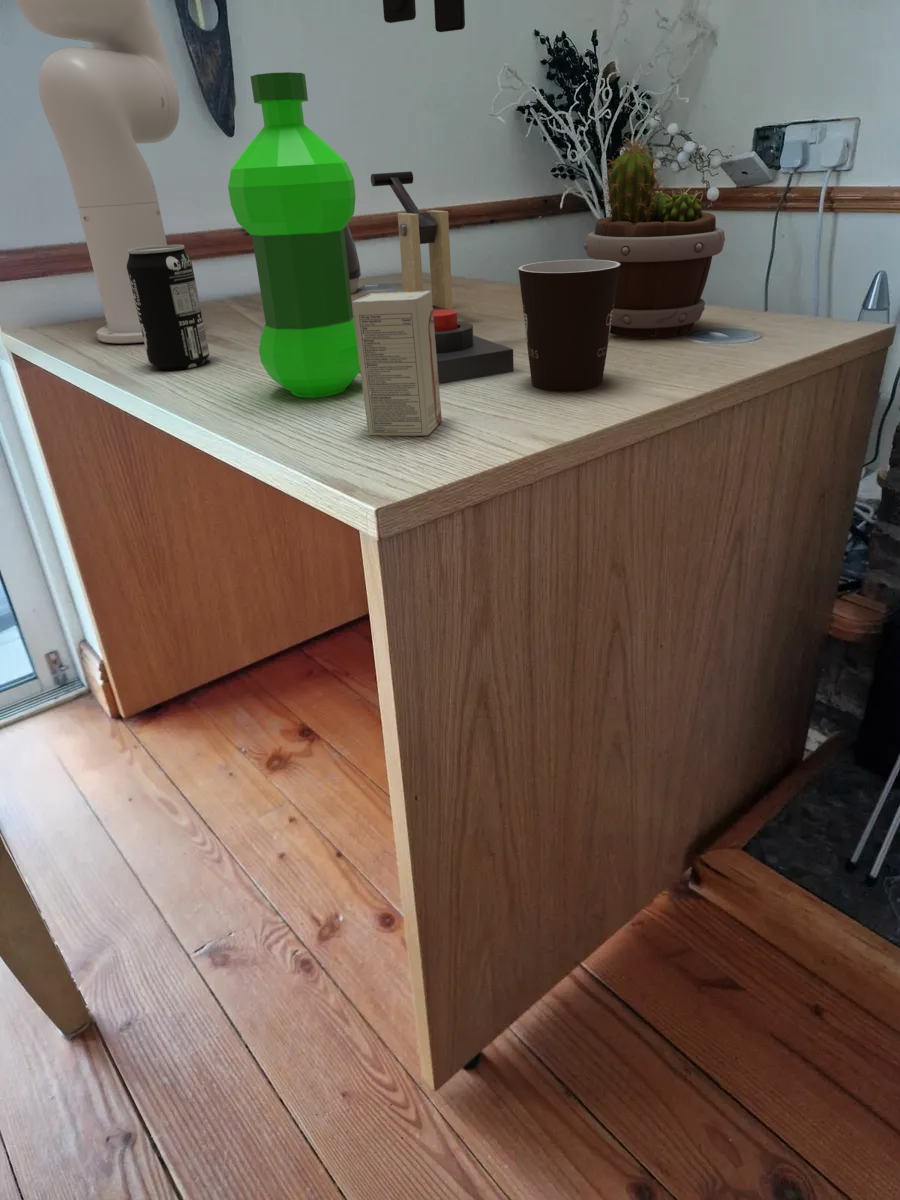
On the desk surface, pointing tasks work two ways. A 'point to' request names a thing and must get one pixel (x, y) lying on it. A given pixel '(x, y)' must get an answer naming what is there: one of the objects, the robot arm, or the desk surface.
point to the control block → (469, 355)
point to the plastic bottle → (298, 242)
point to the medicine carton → (398, 362)
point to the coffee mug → (568, 321)
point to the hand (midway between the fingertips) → (426, 25)
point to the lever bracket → (437, 254)
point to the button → (445, 320)
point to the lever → (407, 201)
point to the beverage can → (168, 306)
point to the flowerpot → (653, 249)
